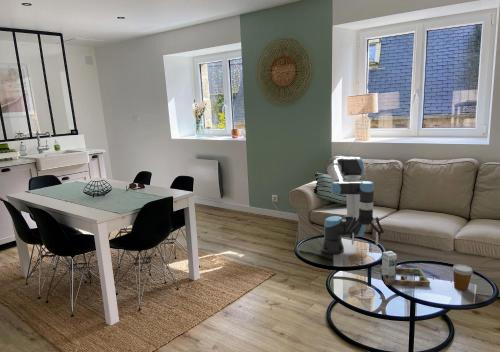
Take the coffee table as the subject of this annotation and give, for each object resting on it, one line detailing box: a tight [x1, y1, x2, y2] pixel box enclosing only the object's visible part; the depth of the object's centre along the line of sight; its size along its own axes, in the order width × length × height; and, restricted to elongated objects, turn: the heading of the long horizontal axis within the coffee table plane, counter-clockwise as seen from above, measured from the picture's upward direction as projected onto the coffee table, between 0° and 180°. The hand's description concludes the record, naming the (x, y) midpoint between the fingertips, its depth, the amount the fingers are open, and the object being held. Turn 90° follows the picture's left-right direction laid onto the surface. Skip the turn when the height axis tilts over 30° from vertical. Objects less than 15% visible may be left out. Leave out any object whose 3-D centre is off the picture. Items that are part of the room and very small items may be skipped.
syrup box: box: [381, 250, 398, 280], centre depth 213 cm, size 6×6×14 cm
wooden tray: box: [379, 266, 431, 288], centre depth 210 cm, size 23×16×3 cm
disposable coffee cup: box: [452, 263, 474, 292], centre depth 197 cm, size 10×10×12 cm
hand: (364, 244), depth 213 cm, fingers open, 13 cm apart
